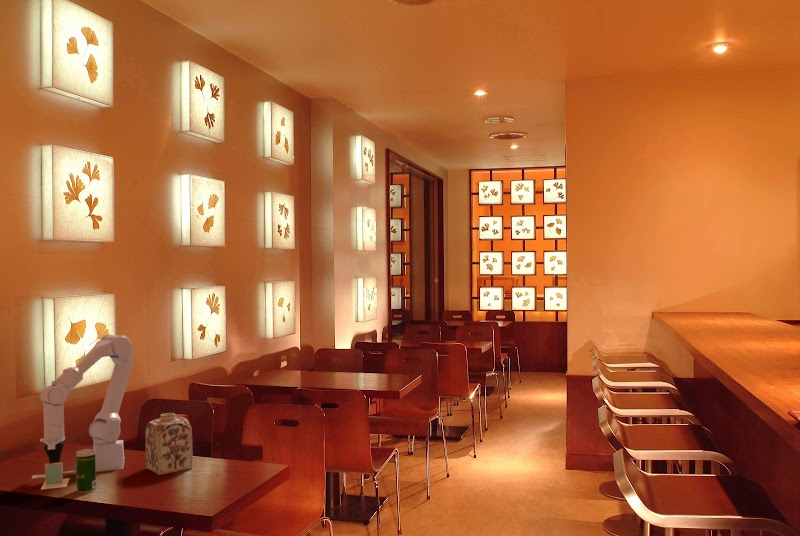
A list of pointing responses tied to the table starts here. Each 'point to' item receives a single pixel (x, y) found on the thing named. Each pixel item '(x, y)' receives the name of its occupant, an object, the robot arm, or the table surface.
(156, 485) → the table surface
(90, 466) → the beer can
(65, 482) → the marble board
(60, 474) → the tile
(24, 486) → the table surface
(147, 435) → the decorative jar
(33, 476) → the wooden turner
